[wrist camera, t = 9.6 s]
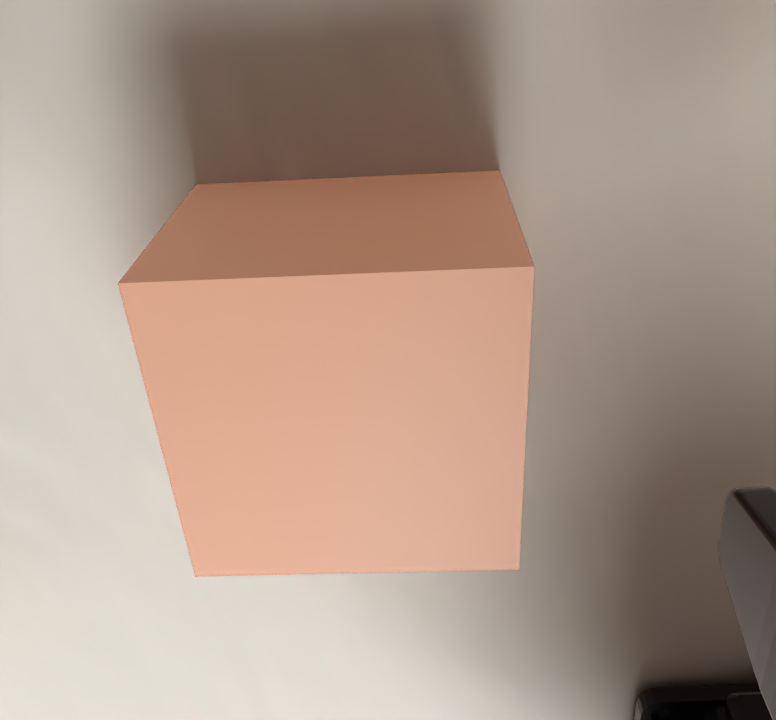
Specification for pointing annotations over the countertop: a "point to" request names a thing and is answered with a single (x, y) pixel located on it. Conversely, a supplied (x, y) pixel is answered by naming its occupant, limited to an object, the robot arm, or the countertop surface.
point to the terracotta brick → (340, 372)
